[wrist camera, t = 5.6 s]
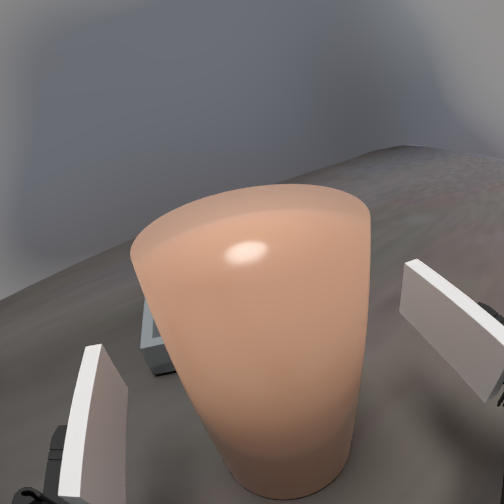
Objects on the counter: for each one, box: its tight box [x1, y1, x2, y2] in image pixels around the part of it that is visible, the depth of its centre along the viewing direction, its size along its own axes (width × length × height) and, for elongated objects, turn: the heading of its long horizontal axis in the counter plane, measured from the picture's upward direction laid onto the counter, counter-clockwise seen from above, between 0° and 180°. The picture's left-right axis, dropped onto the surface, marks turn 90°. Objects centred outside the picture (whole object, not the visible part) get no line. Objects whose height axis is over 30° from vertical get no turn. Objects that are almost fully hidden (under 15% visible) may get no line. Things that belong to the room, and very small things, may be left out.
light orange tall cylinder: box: [130, 184, 370, 499], centre depth 11 cm, size 6×6×12 cm
